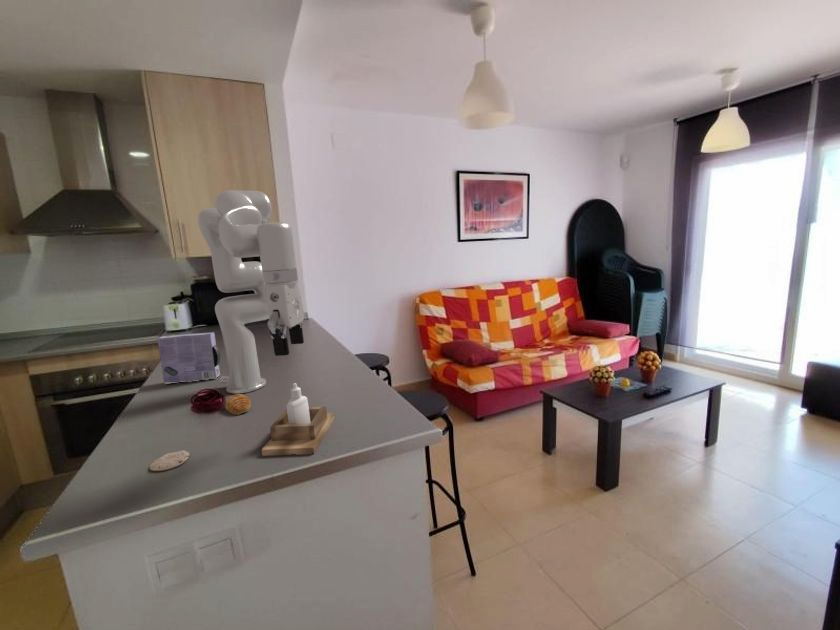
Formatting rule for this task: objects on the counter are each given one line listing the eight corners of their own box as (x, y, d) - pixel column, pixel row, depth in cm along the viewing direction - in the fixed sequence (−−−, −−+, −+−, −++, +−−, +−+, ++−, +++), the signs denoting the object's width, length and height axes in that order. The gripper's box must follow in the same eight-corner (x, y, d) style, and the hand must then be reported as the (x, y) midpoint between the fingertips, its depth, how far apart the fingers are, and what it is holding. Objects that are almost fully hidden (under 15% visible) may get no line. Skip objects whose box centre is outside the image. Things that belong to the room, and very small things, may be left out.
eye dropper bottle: (314, 428, 96) (309, 382, 93) (292, 436, 92) (285, 389, 90) (308, 422, 99) (302, 378, 97) (286, 429, 96) (280, 384, 94)
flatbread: (176, 472, 84) (175, 467, 83) (141, 474, 84) (140, 470, 84) (197, 452, 92) (196, 448, 91) (166, 454, 92) (165, 450, 91)
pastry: (256, 411, 113) (254, 399, 112) (231, 419, 109) (228, 406, 108) (247, 402, 120) (245, 390, 119) (224, 409, 116) (222, 397, 115)
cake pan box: (224, 375, 148) (216, 330, 145) (219, 379, 143) (211, 333, 140) (170, 381, 145) (161, 335, 142) (163, 385, 140) (154, 339, 137)
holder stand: (262, 455, 87) (259, 435, 86) (291, 419, 105) (289, 402, 104) (314, 453, 87) (311, 433, 86) (334, 417, 104) (332, 400, 103)
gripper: (281, 280, 80) (292, 359, 83) (308, 273, 97) (316, 339, 100) (246, 282, 80) (258, 361, 84) (279, 275, 97) (288, 340, 101)
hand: (290, 349), depth 92 cm, fingers open, 9 cm apart
